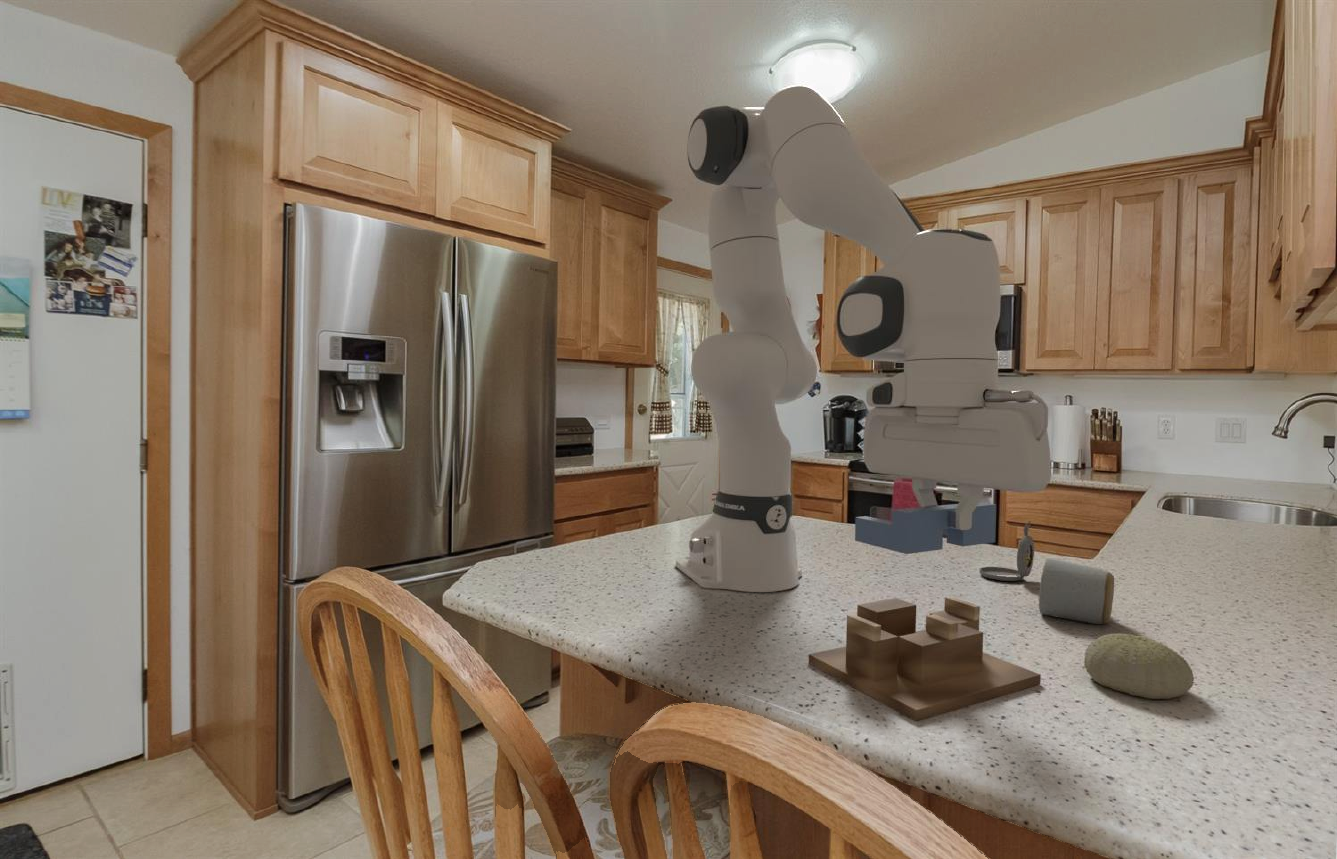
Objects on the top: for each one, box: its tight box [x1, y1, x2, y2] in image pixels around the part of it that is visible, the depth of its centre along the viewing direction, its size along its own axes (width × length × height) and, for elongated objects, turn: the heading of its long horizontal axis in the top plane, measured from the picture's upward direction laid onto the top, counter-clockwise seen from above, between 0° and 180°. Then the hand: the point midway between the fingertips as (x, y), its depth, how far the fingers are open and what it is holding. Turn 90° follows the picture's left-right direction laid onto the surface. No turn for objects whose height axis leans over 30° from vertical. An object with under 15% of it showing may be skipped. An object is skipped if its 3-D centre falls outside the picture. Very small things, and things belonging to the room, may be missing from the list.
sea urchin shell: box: [1083, 633, 1195, 700], centre depth 71 cm, size 9×8×8 cm
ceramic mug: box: [1038, 557, 1115, 625], centre depth 93 cm, size 11×8×8 cm
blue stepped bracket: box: [854, 501, 997, 555], centre depth 72 cm, size 7×13×4 cm, turn 118°
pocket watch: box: [979, 520, 1035, 582], centre depth 112 cm, size 8×8×10 cm
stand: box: [808, 596, 1042, 722], centre depth 73 cm, size 15×18×7 cm
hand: (945, 525), depth 70 cm, fingers closed on blue stepped bracket, 2 cm apart
